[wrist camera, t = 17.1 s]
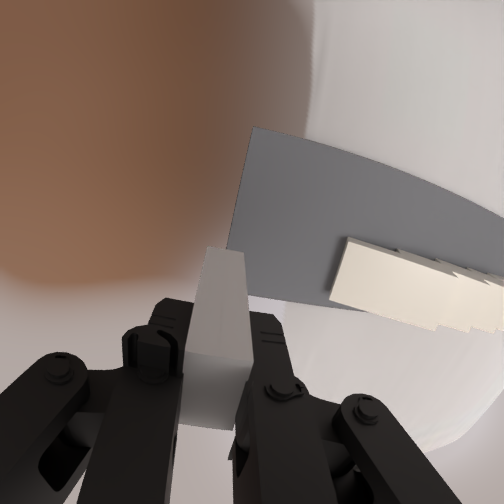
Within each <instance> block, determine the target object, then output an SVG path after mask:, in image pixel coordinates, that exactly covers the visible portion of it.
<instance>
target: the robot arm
mask: <svg viewBox="0 0 504 504" xmlns="http://www.w3.org/2000/svg"><path fill="white" fill-rule="evenodd" d="M122 352H123V367H120V368H117V369H113V370H87V368H86V366H85V364H84V362H83V361H82V360H81V359H79V358H78V357H77V356H75V355H72V354H69V353H66V352H55V353H50V354H47V355H45V356H43V357H42V358H40V359H38V360H37V361H36V362H35V363H34V364H33V365H32V366H30V367H29V369H27V370H26V371H25V372H24V373H23V374H22V375H20V376H19V377H18V378H17V379H16V380H15V381H14V382H13V383H12V384H11V385H10V386H8V387H7V389H5V390H4V391H3V392H2V393H1V394H0V504H63V503H64V502H65V500H66V498H67V497H68V495H69V494H70V493H71V491H72V489H73V488H74V487H75V485H76V484H77V482H78V481H79V479H80V478H81V476H82V475H83V473H84V472H85V470H86V472H85V476H84V479H83V482H82V486H81V489H80V493H79V496H78V500H77V504H169V503H170V493H171V484H172V474H173V466H174V458H175V450H176V442H177V430H178V423H179V424H185V425H191V426H198V427H206V428H213V429H222V430H231V431H232V430H233V427H234V424H235V428H236V429H235V430H236V436H235V439H234V441H233V444H232V447H231V450H230V453H229V457H228V460H232V463H233V504H462V503H461V502H460V500H459V499H458V498H457V497H456V495H455V494H454V493H453V491H452V490H451V489H450V487H449V486H448V485H447V484H446V482H445V481H444V480H443V478H442V477H441V476H440V475H439V473H438V472H437V471H436V469H435V468H434V467H433V466H432V464H431V463H430V462H429V460H428V459H427V458H426V457H425V455H424V454H423V453H422V451H421V450H420V449H419V448H418V446H417V445H416V444H415V442H414V441H413V440H412V439H411V437H410V436H409V435H408V434H407V432H406V431H405V430H404V428H403V427H402V426H401V425H400V423H399V422H398V421H397V420H396V418H395V417H394V416H393V414H392V413H391V412H390V411H389V409H388V408H387V407H386V406H385V405H384V404H383V403H382V402H381V401H380V400H378V399H376V398H374V397H373V396H370V395H366V394H352V395H350V396H348V397H346V398H345V399H344V401H343V402H342V403H341V404H337V403H333V402H329V401H325V400H322V399H319V398H316V397H313V396H312V395H310V394H309V392H308V390H307V388H306V386H305V384H304V383H303V382H301V381H300V380H299V379H298V378H297V377H295V376H294V373H293V369H292V365H291V361H290V357H289V353H288V349H287V345H286V341H285V337H284V333H283V329H282V325H281V323H280V322H279V321H278V320H277V318H276V317H275V316H274V315H273V314H267V313H260V312H252V311H249V305H248V294H247V283H246V272H245V261H244V252H238V251H233V250H227V249H221V248H216V247H210V246H207V250H206V254H205V259H204V263H203V267H202V271H201V276H200V280H199V285H198V290H197V294H196V298H195V303H192V302H186V301H181V300H175V299H170V298H164V299H163V300H162V301H160V302H159V303H157V304H156V305H155V308H154V310H153V312H152V316H151V318H150V320H149V322H148V325H143V326H136V327H134V328H132V329H130V330H128V331H127V332H126V333H125V334H124V335H123V337H122Z"/></svg>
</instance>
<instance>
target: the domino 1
mask: <svg viewBox="0 0 504 504" xmlns="http://www.w3.org/2000/svg"><path fill="white" fill-rule="evenodd" d="M458 279H459V278H458V277H457V276H456V275H455V274H454V273H453V272H452V271H450V270H447V269H444V268H441V267H438V266H436V265H433V264H430V263H427V262H424V261H421V260H418V259H415V258H412V257H409V256H406V255H403V254H400V253H397V252H394V251H391V250H388V249H385V248H382V247H379V246H376V245H373V244H370V243H367V242H364V241H360V240H357V239H354V238H351V237H348V238H347V241H346V244H345V248H344V251H343V254H342V257H341V260H340V263H339V266H338V269H337V272H336V275H335V278H334V281H333V284H332V287H331V290H330V295H329V300H331V301H334V302H337V303H341V304H344V305H347V306H350V307H354V308H357V309H360V310H364V311H367V312H370V313H374V314H377V315H380V316H384V317H387V318H390V319H394V320H397V321H401V322H404V323H408V324H411V325H414V326H418V327H421V328H425V329H428V330H432V331H435V330H436V328H437V326H438V324H439V322H440V320H441V318H442V316H443V313H444V311H445V309H446V307H447V305H448V303H449V300H450V298H451V296H452V294H453V291H454V289H455V286H456V284H457V282H458Z"/></svg>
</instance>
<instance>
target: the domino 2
mask: <svg viewBox="0 0 504 504" xmlns="http://www.w3.org/2000/svg"><path fill="white" fill-rule="evenodd" d="M396 252H397V253H400V254H403V255H406V256H409V257H412V258H415V259H418V260H421V261H424V262H427V263H430V264H433V265H436V266H438V267H441V268H444V269H447V270H450V271H452V272H453V273H454V274H455V275H456V276H457V277H458V278H459V279H458V282H457V284H456V286H455V289H454V291H453V294H452V296H451V298H450V300H449V303H448V305H447V307H446V309H445V311H444V313H443V316H442V318H441V320H440V322H439V325H443V326H446V327H450V328H453V329H456V330H460V331H463V332H467V333H469V331H470V329H471V327H472V325H473V323H474V321H475V319H476V317H477V315H478V312H479V310H480V308H481V306H482V304H483V302H484V299H485V297H486V295H487V292H488V290H489V288H490V285H489V284H488V283H487V282H486V281H485V280H484V279H482V278H479V277H476V276H474V275H471V274H468V273H466V272H463V271H460V270H458V269H455V268H452V267H449V266H447V265H444V264H441V263H438V262H435V261H432V260H430V259H427V258H424V257H421V256H418V255H415V254H412V253H409V252H406V251H403V250H400V249H397V250H396Z"/></svg>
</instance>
